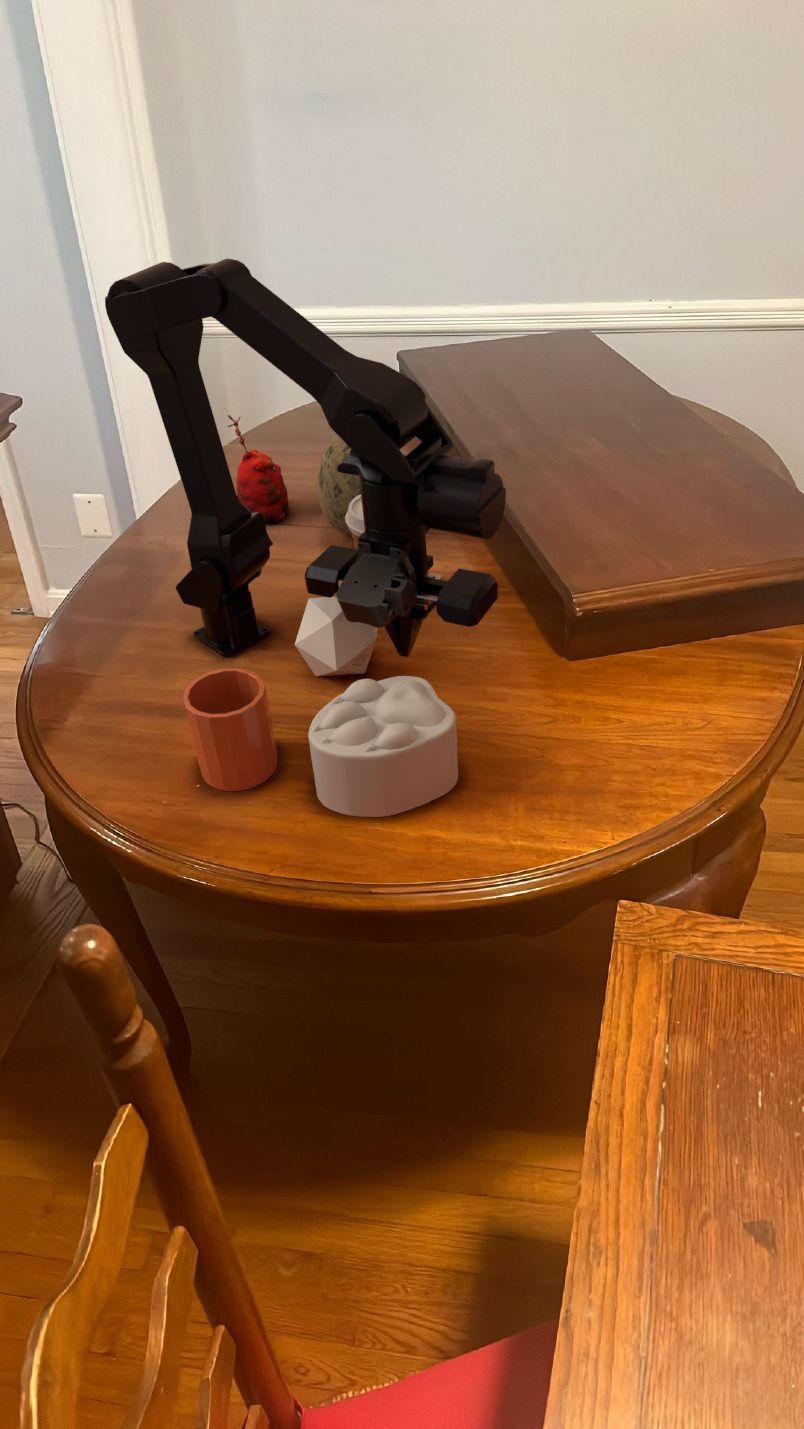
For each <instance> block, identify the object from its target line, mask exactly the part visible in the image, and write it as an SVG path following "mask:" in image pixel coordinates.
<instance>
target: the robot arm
mask: <svg viewBox="0 0 804 1429" xmlns="http://www.w3.org/2000/svg"><path fill="white" fill-rule="evenodd" d="M104 307H105V311H106V316H107V319H108V320H109V323H110V325H111V327H112V329H113V331H114V334H115V335H116V338H117V341H118V343H119V345H120V347H121V350H122V351H123V353H124V354H125V356H127V357H128V358H129V359H130V360H131V361H132V362H133V363H134V364H135V365H136V366H138V367H139V369H141V370H142V371H143V372H144V374H145V375H147V378H148V380H149V383H150V387H151V390H152V392H153V395H154V399H155V402H156V405H157V408H158V411H159V414H160V418H161V420H162V421H161V422H162V424H163V427H164V429H165V433H166V436H167V439H168V443H169V445H170V449H171V452H172V455H173V458H174V461H175V464H176V467H177V471H178V474H179V477H180V480H181V483H182V486H183V489H184V492H185V495H186V499H187V502H188V506H189V508H190V512H191V513H190V514H191V517H190V522H189V529H188V534H187V541H186V546H187V551H188V557H189V562H190V567H191V569H190V570H189V571H188V573H187V574H186V575H185V576H184V577H183V578H182V579H181V580H180V581H179V582H178V583H177V585H175V591H176V592H177V594H178V596H179V598H180V600H181V601H182V603H183V604H184V605H187V606H191V607H194V608H199V610H200V614H201V620H202V623H203V626H202V627H201V628H199V629H197V630H195V631H194V632H193V633H192V634H193V638H195V639H196V640H197V641H199V642H201V643H202V644H204V645H205V646H207V647H208V648H210V649H211V650H213V651H214V652H215V653H217V654H219V655H220V656H222V657H229V656H231V655H233V654H236V653H237V652H240V651H241V650H242V649H245V648H247V647H248V646H250V645H252V644H254V643H256V642H258V641H259V640H261V639H263V638H265V637H267V636H268V635H270V633H271V632H270V628H268V627H266V626H265V625H264V624H262V623H260V622H258V621H257V615H256V610H255V607H254V602H253V597H252V592H251V591H250V586H249V585H250V584H251V583H252V582H253V581H254V580H255V579H257V578H259V577H260V576H261V575H262V571H263V568H264V567H265V566H266V564H267V563H268V560H270V557H271V551H270V550H271V549H270V547H272V546H273V545H274V542H273V541H272V539H271V538H270V536H269V533H268V530H267V527H266V523H265V518H264V516H263V514H262V513H261V512H256V513H252V512H251V511H249V510H248V509H247V508H246V507H245V506H244V505H243V504H242V503H241V502H240V501H239V500H238V498H237V491H236V488H235V485H234V482H233V478H232V474H231V471H230V468H229V465H228V464H229V463H228V461H227V458H226V453H225V451H224V447H223V444H222V440H221V436H220V433H219V430H218V426H217V423H216V419H215V416H214V413H213V410H212V406H211V402H210V399H209V395H208V392H207V389H206V388H207V387H206V384H205V382H204V378H203V375H202V370H201V368H200V361H199V359H200V352H201V346H202V340H203V333H204V320H203V319H209V318H213V319H214V320H216V321H217V322H218V323H219V324H221V325H222V326H223V327H224V328H226V329H227V330H228V331H229V332H231V333H232V334H233V335H234V336H236V337H237V338H238V339H239V340H240V341H242V342H244V343H245V345H247V346H249V347H250V348H251V349H252V350H253V351H255V352H256V353H257V354H258V355H260V356H261V357H262V358H264V359H265V360H266V361H267V362H268V363H270V364H271V365H272V366H274V367H275V368H276V369H277V370H279V371H280V372H281V373H282V374H284V375H285V376H286V377H287V378H289V379H290V380H291V381H292V382H293V383H295V384H296V385H297V386H299V387H300V388H302V390H304V391H305V392H306V393H308V395H310V396H311V397H312V398H313V399H314V400H315V401H316V402H317V403H318V404H319V406H320V408H321V410H322V412H323V415H324V417H325V419H326V422H327V425H328V426H329V428H331V430H332V431H333V432H334V433H335V434H337V435H338V436H339V437H340V438H341V439H342V440H343V441H344V442H345V443H346V444H347V445H348V446H349V447H350V449H351V451H350V453H349V454H348V456H347V457H346V458H345V459H344V461H342V462H341V463H340V464H339V465H338V466H337V470H338V472H340V473H345V474H351V475H357V476H359V480H360V490H361V499H362V509H363V518H364V528H365V532H363V533H362V534H361V535H360V536H359V537H358V540H359V543H358V550H357V549H355V548H351V547H346V546H340V545H335V544H331V545H329V546H328V547H327V548H326V549H325V550H324V551H323V552H322V553H321V554H320V555H319V556H317V558H316V559H314V560H313V561H312V562H311V563H310V564H309V565H308V566H307V567H306V569H305V573H304V580H305V588H306V591H307V593H308V594H311V595H315V596H319V597H329V598H331V597H334V596H335V597H336V598H337V600H338V602H339V604H340V607H341V609H342V611H343V614H344V616H345V618H346V620H347V621H350V622H359V623H364V624H368V625H371V626H373V627H376V628H378V629H382V628H384V629H385V631H386V633H387V635H388V637H389V638H390V641H391V642H392V644H393V646H394V648H395V650H396V652H397V653H398V656H400V657H403V658H408V657H409V656H410V655H411V653H412V651H413V648H414V646H415V643H416V640H417V638H418V635H419V632H420V630H421V628H422V625H423V622H424V620H425V619H426V618H427V617H428V616H429V615H430V614H431V612H432V611H433V610H434V609H435V607H436V615H438V616H439V618H440V619H442V621H443V622H445V623H449V624H453V625H458V626H463V627H468V628H471V627H475V626H479V624H480V623H481V621H482V620H483V619H484V617H485V616H486V615H487V613H488V612H489V611H490V609H491V608H492V607H493V605H494V604H495V602H497V600H498V599H499V584H498V581H497V579H496V578H495V577H494V576H493V575H492V574H491V573H485V572H481V571H476V570H470V569H465V568H457V569H456V571H455V572H454V573H453V574H452V576H450V578H449V579H448V580H444V579H443V575H442V574H439V573H434V572H433V573H432V572H429V571H430V569H431V568H433V567H434V555H430V554H428V552H427V549H428V548H427V535H426V534H427V533H428V532H429V531H430V530H435V531H440V532H445V533H450V534H455V535H460V536H461V535H462V536H467V537H473V538H478V539H483V540H490V539H492V538H493V537H494V536H495V535H496V533H497V532H498V530H499V528H500V525H501V524H502V520H503V517H504V513H505V510H506V509H505V508H506V500H507V488H506V486H504V482H503V479H502V477H501V475H500V474H499V473H497V472H495V469H496V468H495V465H496V464H495V462H494V461H493V460H492V459H487V458H486V459H485V458H475V459H474V458H473V459H471V458H465V457H459V456H452V455H447V454H448V453H449V452H450V451H451V450H452V449H453V448H454V447H455V446H454V445H455V444H454V442H453V441H452V439H451V438H450V436H449V435H448V433H447V431H445V429H444V428H443V426H442V425H441V423H440V422H439V420H438V419H437V417H436V416H435V414H434V413H433V412H432V410H431V409H430V407H429V405H428V404H427V401H426V400H427V396H426V394H425V392H424V390H423V389H422V388H421V386H420V385H419V384H418V383H417V382H415V381H414V380H413V379H411V378H410V377H408V376H406V375H404V374H402V373H401V372H400V371H398V370H395V369H394V368H393V367H391V366H388V365H387V364H385V363H383V362H379V361H376V360H371V359H369V358H364V357H361V356H360V357H359V356H357V355H355V354H353V353H352V352H350V351H348V350H346V349H344V347H342V346H341V345H340V344H338V343H337V342H336V341H335V340H333V339H332V338H331V337H330V336H328V335H327V334H326V333H325V332H323V331H322V330H321V329H320V328H318V327H317V326H316V325H315V324H314V323H312V322H311V321H310V320H308V319H307V318H306V317H304V315H302V314H301V313H300V312H298V311H297V310H296V309H294V307H292V306H291V305H289V304H288V303H287V302H286V301H284V300H283V299H282V298H281V297H279V296H278V295H277V294H276V293H274V292H273V291H272V290H271V289H269V288H268V287H267V286H265V285H264V284H263V283H262V282H260V281H259V280H258V279H256V278H255V277H254V276H253V275H252V273H251V271H250V269H249V268H248V267H247V266H246V265H245V263H243V262H242V261H240V260H238V259H233V258H223V259H221V260H220V261H217V262H213V263H211V262H210V263H201V264H197V265H193V266H188V267H184V268H181V267H180V266H178V265H176V264H175V263H173V262H167V261H162V262H159V263H156V264H153V265H150V266H148V267H147V268H144V269H142V270H139V271H136V272H134V273H132V274H130V275H127V276H125V277H123V278H121V279H117V280H115V281H114V282H113V283H112V284H111V285H110V286H109V289H108V291H107V295H106V296H105V297H104ZM414 438H417V439H418V440H419V441H420V443H419V444H417V446H415V447H414V448H413V449H412V450H411V451H410V452H409V453H408V454H404V453H402V451H401V449H403V448H404V447H405V446H406V445H407V444H409V443H410V442H411V441H412V440H413V439H414ZM339 582H341V583H339Z"/></svg>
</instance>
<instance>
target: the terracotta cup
mask: <svg viewBox="0 0 804 1429" xmlns="http://www.w3.org/2000/svg"><path fill="white" fill-rule="evenodd" d="M182 702H183V707H184V710H185V714H186V718H187V723H188V727H189V730H190V734H191V738H192V739H191V740H192V743H193V747H194V750H195V754H196V755H195V756H196V758H197V763H198V766H199V770H200V773H201V777H202V778H203V780H204V781H205V783H206V784H208V785H209V786H210V787H212V788H214V789H216V790H219V791H223V792H242V791H246V790H250V789H252V788H253V789H254V788H255V787H257V786H260V785H261V784H264V783H265V782H266V781H268V780H269V779H270V778H271V777H272V776H273V775H274V773H275V771H276V769H277V767H278V762H279V760H278V755H279V754H278V748H277V744H276V738H275V732H274V727H273V722H272V716H271V710H270V705H269V699H268V694H267V689H266V685H265V681H263V678H262V676H260V675H258V674H257V673H255V672H254V671H252V670H249V669H246V668H240V667H223V668H219V669H215V670H211V671H207V672H205V673H203V674H202V675H200V676H198V677H195V678H194V679H193V680H192V681H191V682H190V683H189V684H188V685H187V686H186V688H185V690H184V693H183V696H182Z"/></svg>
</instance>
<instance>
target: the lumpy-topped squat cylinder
mask: <svg viewBox="0 0 804 1429" xmlns="http://www.w3.org/2000/svg"><path fill="white" fill-rule="evenodd" d="M308 744H309V751H310V759H311V764H312V766H311V767H312V771H313V776H314V777H313V778H314V785H315V791H316V796H317V798H318V801H319V802H320V803H321V804H322V805H323V806H324V807H326V808H327V809H329V810H330V811H333V812H335V813H338V814H341V815H345V816H350V817H365V818H380V817H381V818H383V817H391V816H393V815H397V814H401V813H404V812H406V811H409V810H413V809H416V808H418V807H420V806H423V805H426V804H428V803H429V802H432V801H435V800H436V799H438V798H440V797H443V796H444V795H446V794H447V793H449V792H450V791H451V790H452V789H453V788H454V787H455V786H456V785H457V783H458V780H459V758H458V733H457V716H456V713H455V711H454V709H452V708H451V706H449V705H448V704H447V703H446V702H444V701H443V700H442V699H440V697H438V695H437V693H436V691H435V689H434V687H433V686H432V684H431V683H430V682H429V681H428V680H426V679H425V678H422V677H417V676H414V675H413V676H412V675H397V676H391V677H388V678H387V677H386V678H384V679H383V678H382V679H380V680H375V679H372V678H362V679H357V680H356V681H354V682H352V683H351V684H350V685H349V686H348V687H347V688H346V689H345V691H344V692H342V693H341V694H339V695H337V696H336V697H334V698H332V700H330V701H329V702H328V703H327V704H326V705H324V706H323V707H322V708H321V709H320V710H319V711H317V714H316V715H315V716H314V718H313V719H312V722H311V724H310V726H309V730H308Z"/></svg>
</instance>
